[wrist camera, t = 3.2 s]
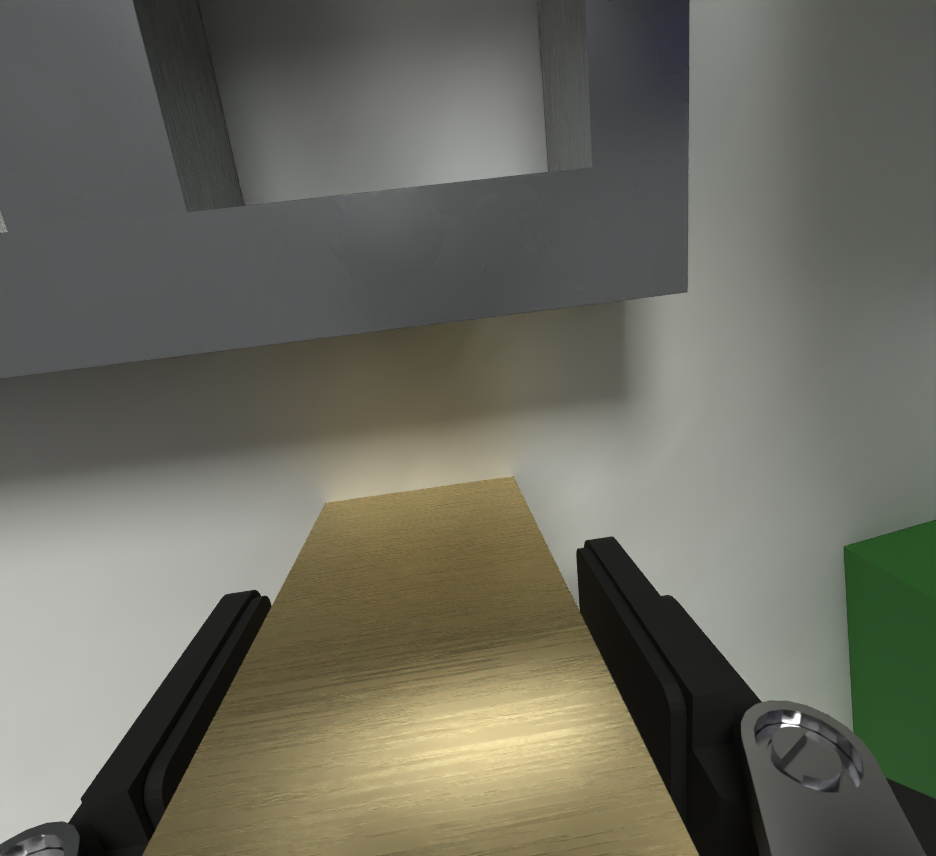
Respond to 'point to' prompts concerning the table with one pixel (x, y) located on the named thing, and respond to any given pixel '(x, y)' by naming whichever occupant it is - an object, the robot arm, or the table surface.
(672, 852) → the brass peg
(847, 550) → the hardback book
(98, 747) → the table surface
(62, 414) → the table surface
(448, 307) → the grey slotted rack
